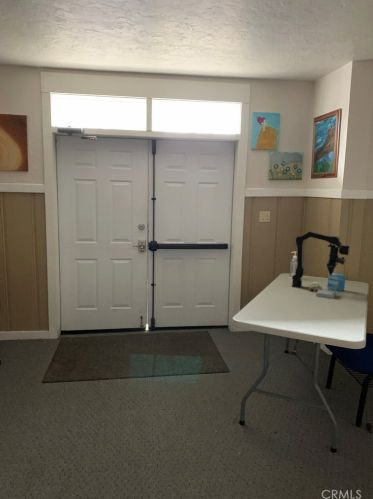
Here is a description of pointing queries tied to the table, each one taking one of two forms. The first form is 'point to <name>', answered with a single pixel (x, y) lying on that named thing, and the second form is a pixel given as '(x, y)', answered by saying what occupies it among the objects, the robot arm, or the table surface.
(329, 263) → the robot arm
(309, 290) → the brown cardboard box
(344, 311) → the table surface
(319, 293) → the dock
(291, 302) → the table surface
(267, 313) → the table surface
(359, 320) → the table surface
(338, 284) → the data package
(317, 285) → the pale green block
